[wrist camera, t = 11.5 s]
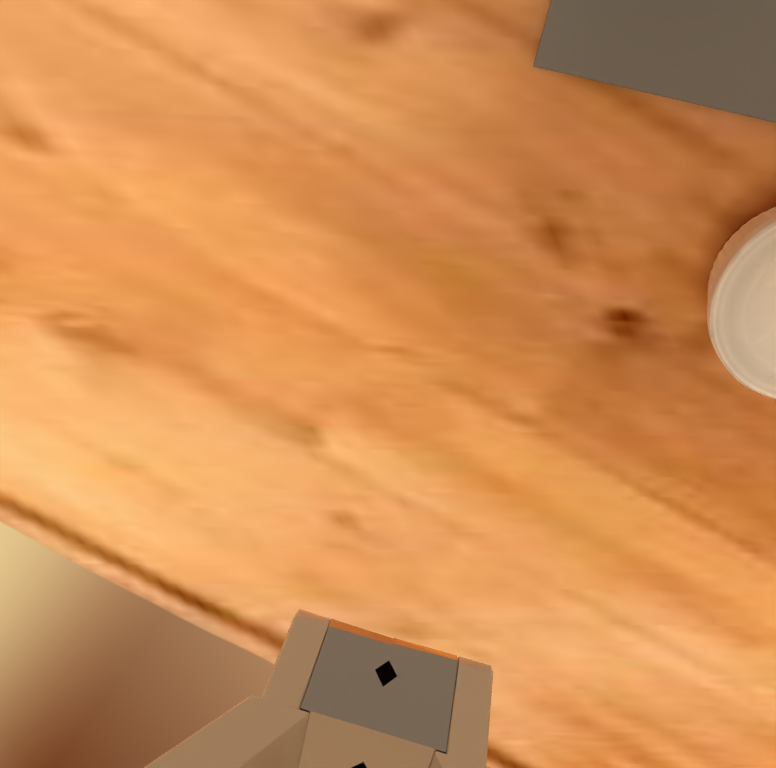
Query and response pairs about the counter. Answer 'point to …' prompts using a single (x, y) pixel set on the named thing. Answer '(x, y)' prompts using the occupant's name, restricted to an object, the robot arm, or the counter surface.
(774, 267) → the ramekin
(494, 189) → the counter surface
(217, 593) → the counter surface
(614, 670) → the counter surface
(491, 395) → the counter surface
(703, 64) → the mat
